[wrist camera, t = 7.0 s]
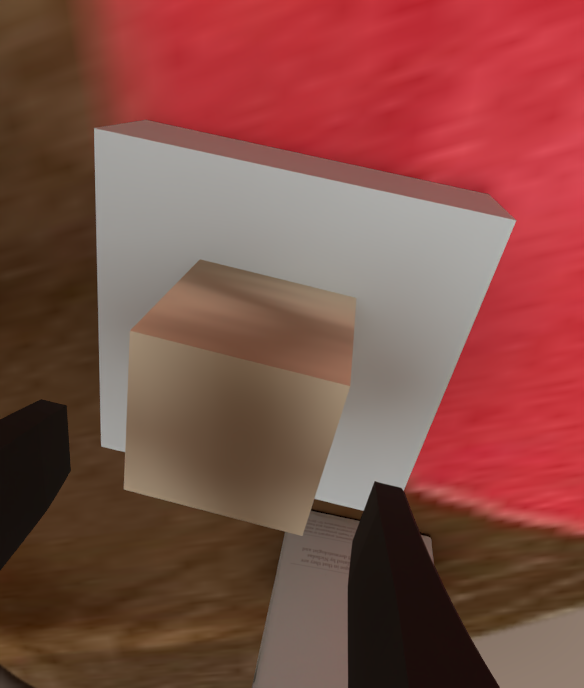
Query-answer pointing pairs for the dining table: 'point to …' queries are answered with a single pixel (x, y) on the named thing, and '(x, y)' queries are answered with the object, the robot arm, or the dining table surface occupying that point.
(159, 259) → the grey block
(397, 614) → the robot arm
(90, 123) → the dining table surface
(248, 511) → the birch cube
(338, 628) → the supplement box
